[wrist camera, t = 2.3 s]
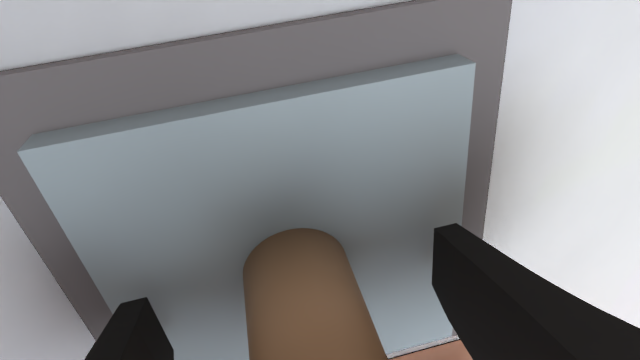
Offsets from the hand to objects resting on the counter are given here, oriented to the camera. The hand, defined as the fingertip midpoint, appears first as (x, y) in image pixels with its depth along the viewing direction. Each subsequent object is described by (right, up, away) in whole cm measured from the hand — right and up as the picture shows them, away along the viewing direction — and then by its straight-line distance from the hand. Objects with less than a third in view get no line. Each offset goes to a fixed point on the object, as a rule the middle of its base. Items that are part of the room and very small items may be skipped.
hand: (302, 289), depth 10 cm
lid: (0, +1, +1) cm, 2 cm away
